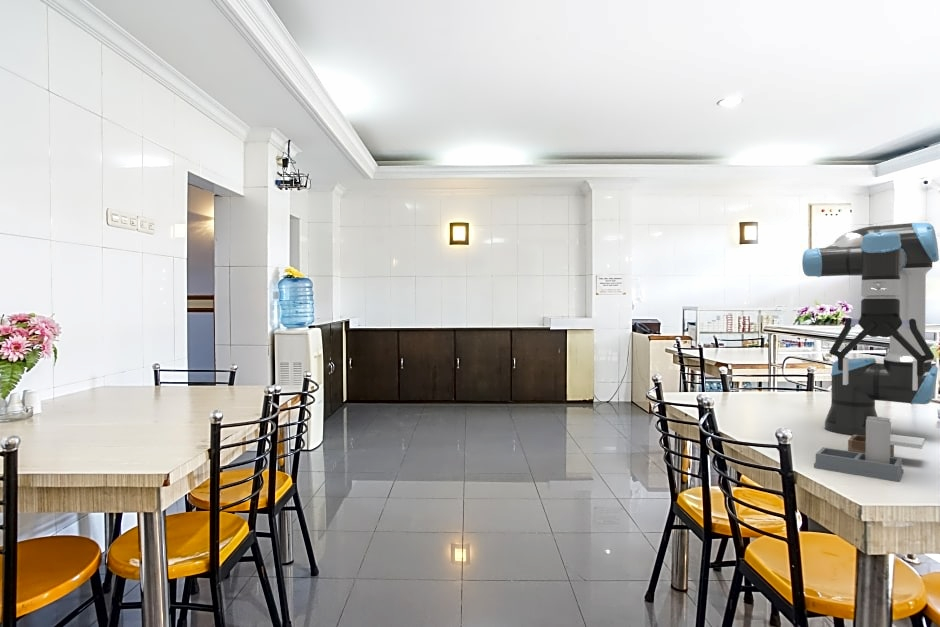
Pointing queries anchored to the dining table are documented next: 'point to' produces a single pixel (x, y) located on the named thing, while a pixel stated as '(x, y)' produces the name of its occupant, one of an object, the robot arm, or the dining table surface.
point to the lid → (907, 441)
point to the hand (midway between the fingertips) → (879, 387)
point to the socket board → (858, 464)
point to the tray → (862, 445)
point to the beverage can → (878, 439)
